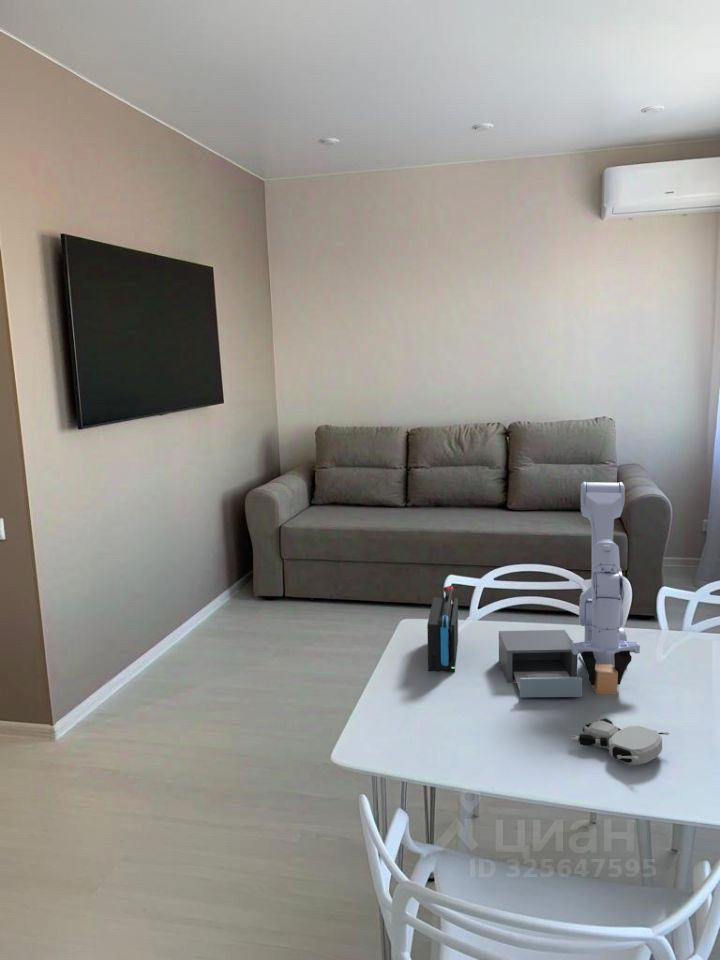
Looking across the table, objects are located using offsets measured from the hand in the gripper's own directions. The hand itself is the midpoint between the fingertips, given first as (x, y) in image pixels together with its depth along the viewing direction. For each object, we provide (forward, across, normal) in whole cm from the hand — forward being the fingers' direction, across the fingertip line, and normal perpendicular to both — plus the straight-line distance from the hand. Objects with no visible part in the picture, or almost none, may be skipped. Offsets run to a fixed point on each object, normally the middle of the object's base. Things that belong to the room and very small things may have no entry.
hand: (604, 683), depth 165 cm
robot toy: (+2, -5, -26) cm, 27 cm away
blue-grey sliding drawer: (+1, -13, +1) cm, 13 cm away
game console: (+2, -34, +20) cm, 40 cm away
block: (+2, 0, 0) cm, 2 cm away
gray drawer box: (+1, -13, +10) cm, 16 cm away
